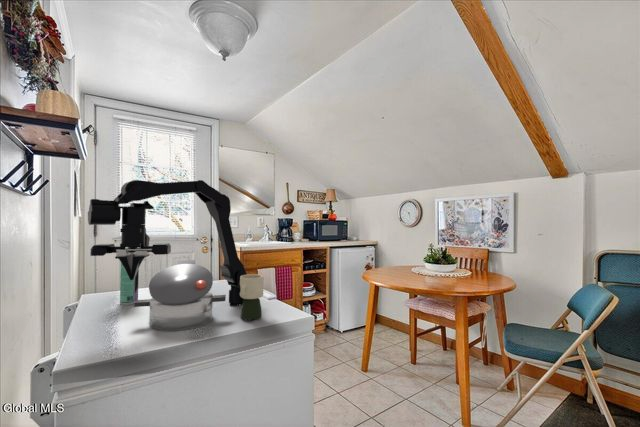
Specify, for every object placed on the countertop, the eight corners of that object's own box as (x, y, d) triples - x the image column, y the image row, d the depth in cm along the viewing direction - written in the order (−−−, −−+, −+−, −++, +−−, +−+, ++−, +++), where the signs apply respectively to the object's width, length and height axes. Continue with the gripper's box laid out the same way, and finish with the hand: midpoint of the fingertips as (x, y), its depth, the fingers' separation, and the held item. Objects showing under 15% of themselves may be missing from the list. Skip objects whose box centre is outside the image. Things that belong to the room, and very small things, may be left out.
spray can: (141, 301, 109) (142, 246, 110) (127, 305, 104) (128, 248, 105) (130, 300, 111) (131, 246, 112) (116, 304, 106) (117, 247, 106)
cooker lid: (214, 262, 100) (214, 255, 99) (210, 302, 84) (210, 295, 83) (157, 264, 95) (157, 257, 94) (142, 307, 79) (141, 299, 78)
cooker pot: (225, 309, 101) (225, 288, 101) (224, 326, 85) (225, 302, 85) (143, 315, 94) (144, 292, 94) (125, 335, 78) (126, 308, 78)
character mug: (250, 312, 99) (250, 272, 99) (269, 314, 97) (270, 273, 97) (231, 323, 88) (231, 278, 89) (252, 325, 86) (253, 280, 86)
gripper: (174, 224, 96) (173, 273, 96) (106, 224, 91) (105, 275, 90) (167, 225, 85) (166, 280, 85) (90, 224, 80) (88, 283, 80)
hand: (132, 279), depth 85 cm, fingers closed
